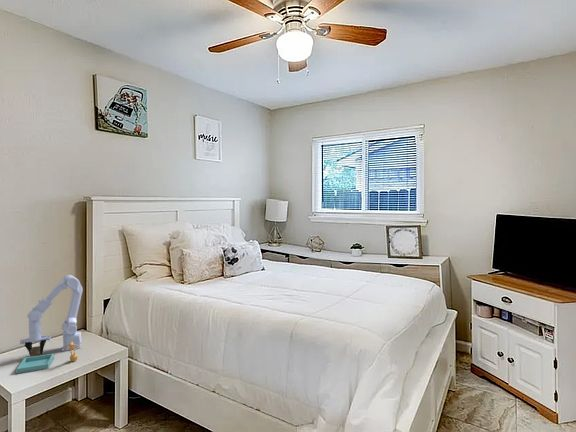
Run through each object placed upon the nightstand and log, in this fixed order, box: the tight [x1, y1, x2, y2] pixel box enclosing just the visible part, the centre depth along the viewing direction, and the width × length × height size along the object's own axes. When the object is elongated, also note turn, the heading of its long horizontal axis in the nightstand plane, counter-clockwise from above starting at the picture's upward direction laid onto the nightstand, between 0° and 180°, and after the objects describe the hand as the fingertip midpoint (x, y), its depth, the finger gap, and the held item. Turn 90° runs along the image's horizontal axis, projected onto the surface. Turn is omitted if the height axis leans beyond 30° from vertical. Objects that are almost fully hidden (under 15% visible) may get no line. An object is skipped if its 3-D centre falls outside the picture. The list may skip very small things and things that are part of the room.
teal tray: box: [15, 353, 55, 375], centre depth 195 cm, size 14×14×2 cm
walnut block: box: [29, 345, 43, 357], centre depth 206 cm, size 4×4×5 cm
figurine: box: [64, 341, 81, 362], centre depth 199 cm, size 8×6×12 cm
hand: (36, 354), depth 206 cm, fingers closed on walnut block, 4 cm apart
